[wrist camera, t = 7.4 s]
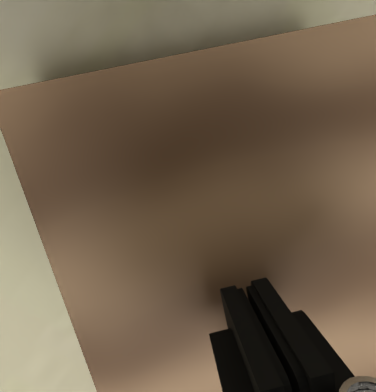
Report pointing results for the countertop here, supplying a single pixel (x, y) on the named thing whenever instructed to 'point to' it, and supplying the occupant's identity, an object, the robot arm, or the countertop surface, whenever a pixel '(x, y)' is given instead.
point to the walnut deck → (206, 197)
